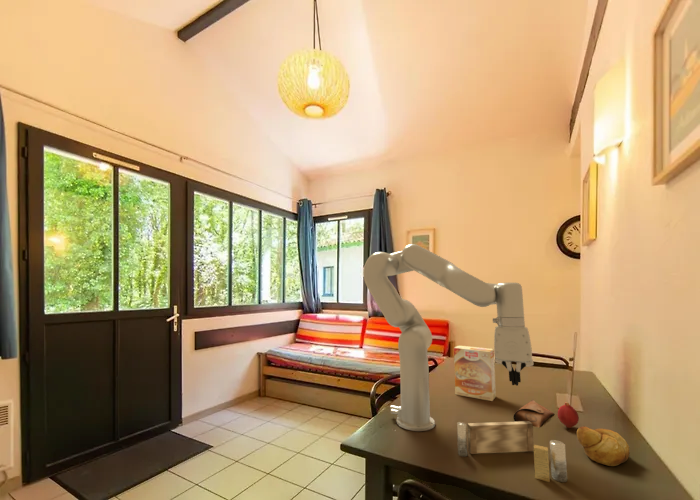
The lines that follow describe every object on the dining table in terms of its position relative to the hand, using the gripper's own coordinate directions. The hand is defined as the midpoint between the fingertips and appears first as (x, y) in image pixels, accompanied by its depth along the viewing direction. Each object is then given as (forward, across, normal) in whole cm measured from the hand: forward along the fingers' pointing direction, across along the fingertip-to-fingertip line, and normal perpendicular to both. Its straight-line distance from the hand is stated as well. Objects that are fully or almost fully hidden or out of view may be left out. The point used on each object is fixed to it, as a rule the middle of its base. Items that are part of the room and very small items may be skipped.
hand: (515, 384), depth 102 cm
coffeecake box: (+16, -19, +36) cm, 44 cm away
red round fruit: (+17, +13, +18) cm, 28 cm away
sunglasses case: (+17, +3, +23) cm, 29 cm away
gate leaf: (+16, -4, -11) cm, 19 cm away
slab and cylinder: (+16, +8, -18) cm, 25 cm away
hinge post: (+16, -13, -17) cm, 27 cm away
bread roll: (+17, +21, 0) cm, 27 cm away
